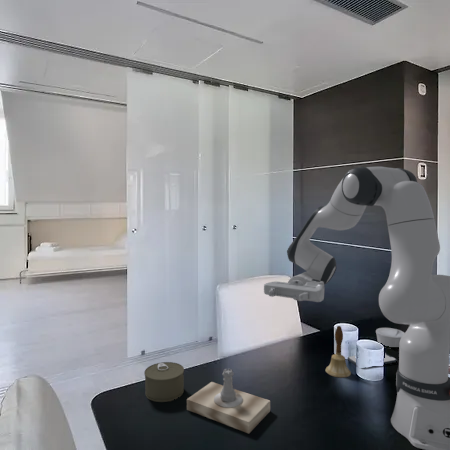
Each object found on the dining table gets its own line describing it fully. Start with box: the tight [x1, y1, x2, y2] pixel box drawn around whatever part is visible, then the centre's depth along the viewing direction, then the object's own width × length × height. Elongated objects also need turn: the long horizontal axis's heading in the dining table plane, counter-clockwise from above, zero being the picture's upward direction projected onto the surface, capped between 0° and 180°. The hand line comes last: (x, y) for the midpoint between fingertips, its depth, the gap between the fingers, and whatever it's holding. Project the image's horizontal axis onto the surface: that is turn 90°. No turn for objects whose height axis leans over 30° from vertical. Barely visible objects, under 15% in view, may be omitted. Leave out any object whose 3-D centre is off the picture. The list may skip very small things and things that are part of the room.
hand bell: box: [325, 325, 352, 378], centre depth 125 cm, size 8×8×16 cm
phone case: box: [347, 352, 398, 366], centre depth 133 cm, size 9×2×16 cm
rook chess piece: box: [220, 368, 236, 402], centre depth 102 cm, size 4×4×8 cm
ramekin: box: [375, 327, 405, 347], centre depth 149 cm, size 11×11×5 cm
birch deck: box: [186, 381, 271, 435], centre depth 102 cm, size 20×12×3 cm, turn 57°
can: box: [144, 361, 185, 403], centre depth 112 cm, size 12×12×7 cm
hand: (284, 296), depth 117 cm, fingers open, 8 cm apart
